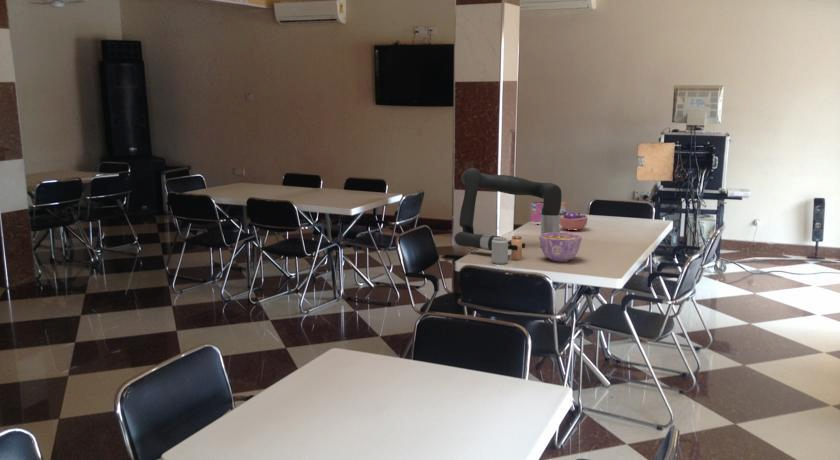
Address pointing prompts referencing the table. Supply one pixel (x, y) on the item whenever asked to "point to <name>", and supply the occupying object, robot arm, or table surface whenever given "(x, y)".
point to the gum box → (537, 208)
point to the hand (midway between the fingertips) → (521, 247)
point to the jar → (518, 253)
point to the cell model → (573, 221)
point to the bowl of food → (560, 245)
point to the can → (499, 250)
